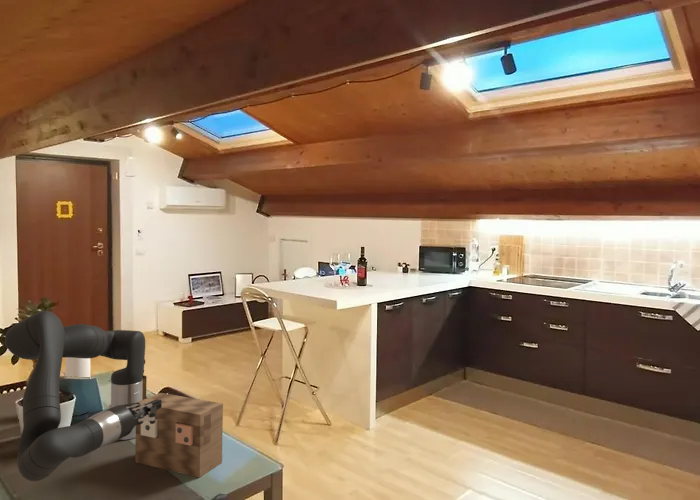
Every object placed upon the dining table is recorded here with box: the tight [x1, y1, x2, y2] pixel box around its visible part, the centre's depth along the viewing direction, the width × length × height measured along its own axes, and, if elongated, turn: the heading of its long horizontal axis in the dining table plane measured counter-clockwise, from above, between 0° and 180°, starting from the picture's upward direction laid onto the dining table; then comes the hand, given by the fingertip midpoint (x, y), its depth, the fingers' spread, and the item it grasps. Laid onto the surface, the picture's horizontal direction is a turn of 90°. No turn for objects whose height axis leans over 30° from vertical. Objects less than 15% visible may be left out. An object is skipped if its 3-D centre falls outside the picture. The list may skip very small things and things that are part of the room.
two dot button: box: [175, 423, 194, 446], centre depth 145 cm, size 5×5×5 cm
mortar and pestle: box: [142, 359, 148, 400], centre depth 196 cm, size 7×6×18 cm
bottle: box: [65, 357, 91, 378], centre depth 188 cm, size 8×8×30 cm
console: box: [134, 392, 224, 479], centre depth 151 cm, size 22×10×17 cm, turn 68°
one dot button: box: [141, 418, 158, 438], centre depth 150 cm, size 5×5×5 cm
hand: (159, 403), depth 140 cm, fingers closed
